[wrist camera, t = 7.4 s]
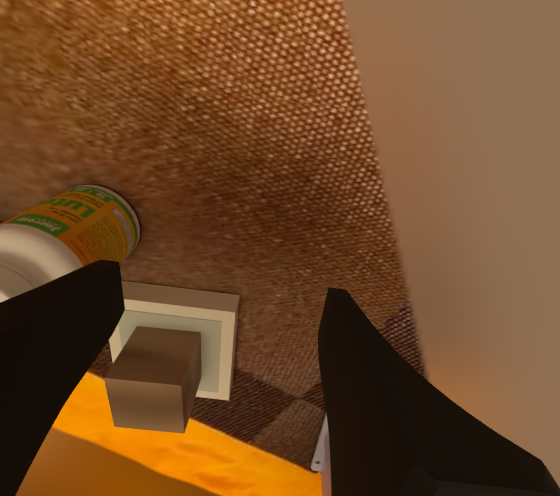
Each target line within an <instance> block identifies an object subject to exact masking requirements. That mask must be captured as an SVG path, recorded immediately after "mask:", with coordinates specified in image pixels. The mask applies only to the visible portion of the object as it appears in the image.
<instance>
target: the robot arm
mask: <svg viewBox="0 0 560 496" xmlns="http://www.w3.org/2000/svg"><path fill="white" fill-rule="evenodd" d="M124 311H125V305H124V297H123V288H122V280H121V272H120V264H119V262H117V261H109V260H98V261H96V262H93V263H91V264H88V265H86V266H84V267H81V268H79V269H77V270H74V271H72V272H70V273H68V274H66V275H63V276H61V277H59V278H57V279H55V280H52V281H50V282H48V283H46V284H43V285H41V286H39V287H37V288H34V289H32V290H29V291H27V292H24V293H22V294H20V295H17V296H15V297H12V298H10V299H7V300H5V301H3V302H0V496H15V495H16V493H17V491H18V489H19V487H20V485H21V483H22V481H23V479H24V477H25V475H26V473H27V471H28V469H29V467H30V465H31V464H32V462H33V460H34V458H35V456H36V454H37V452H38V450H39V448H40V447H41V445H42V443H43V441H44V439H45V437H46V435H47V434H48V432H49V430H50V428H51V427H52V425H53V423H54V421H55V420H56V418H57V416H58V414H59V413H60V411H61V409H62V407H63V406H64V404H65V402H66V401H67V399H68V398H69V396H70V395H71V393H72V392H73V390H74V389H75V387H76V386H77V385H78V383H79V382H80V380H81V379H82V377H83V376H84V375H85V373H86V372H87V370H88V369H89V368H90V366H91V365H92V363H93V362H94V360H95V359H96V358H97V356H98V355H99V353H100V352H101V351H102V349H103V348H104V346H105V345H106V343H107V342H108V340H109V339H110V337H111V336H112V334H113V332H114V331H115V329H116V327H117V325H118V323H119V321H120V319H121V317H122V315H123V313H124ZM318 353H319V366H320V373H321V380H322V387H323V394H324V401H325V407H326V413H325V417H324V420H323V424H322V427H321V431H320V434H319V438H318V441H317V445H316V448H315V452H314V455H313V459H312V462H311V469H312V470H314V471H321V480H322V495H323V496H560V488H559V486H558V485H557V483H556V482H555V480H554V479H553V477H552V475H551V474H550V472H549V471H548V469H547V468H546V466H545V465H544V463H543V462H542V461H541V460H540V459H538V458H536V457H535V456H533V455H532V454H530V453H529V452H527V451H525V450H523V449H522V448H521V447H519V446H517V445H516V444H514V443H513V442H511V441H509V440H508V439H506V438H505V437H503V436H501V435H500V434H498V433H497V432H495V431H494V430H492V429H490V428H489V427H487V426H486V425H485V424H483V423H482V422H481V421H479V420H478V419H476V418H475V417H473V416H472V415H470V414H469V413H468V412H466V411H465V410H464V409H462V408H461V407H460V406H458V405H457V404H456V403H454V402H453V401H452V400H450V399H449V398H448V397H447V396H445V395H444V394H443V393H442V392H440V391H439V390H438V389H437V388H435V387H434V386H433V385H432V384H431V383H429V382H428V381H427V380H426V379H425V378H424V377H422V376H421V375H420V374H419V373H418V372H417V371H416V370H415V369H414V368H413V367H412V366H411V365H410V364H408V363H407V362H406V361H405V360H404V359H403V358H402V357H401V356H400V355H399V354H398V353H397V352H396V351H395V349H394V348H393V347H392V346H391V345H390V344H389V343H388V342H387V341H386V340H385V339H384V337H383V336H382V335H381V334H380V333H379V332H378V330H377V329H376V328H375V327H374V326H373V324H372V323H371V322H370V321H369V319H368V318H367V317H366V316H365V314H364V313H363V312H362V310H361V309H360V308H359V306H358V305H357V304H356V302H355V301H354V300H353V298H352V297H351V296H350V294H349V293H348V292H347V290H344V289H336V288H328V292H327V297H326V301H325V305H324V310H323V314H322V318H321V323H320V327H319V331H318Z"/></svg>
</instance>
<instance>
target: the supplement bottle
mask: <svg viewBox="0 0 560 496" xmlns="http://www.w3.org/2000/svg"><path fill="white" fill-rule="evenodd" d="M139 237H140V227H139V222H138V219H137V217H136V214H135V213H134V211H133V209H132V208H131V207H130V205H129V204H128V203H127V202H126V201H125V200H124V199H123V198H122V197H121V196H119V195H118V194H116V193H115V192H113V191H111V190H109V189H107V188H104V187H101V186H96V185H80V186H76V187H73V188H71V189H68V190H66V191H64V192H62V193H60V194H58V195H56V196H54V197H52V198H50V199H48V200H46V201H44V202H42V203H40V204H38V205H36V206H34V207H32V208H30V209H28V210H26V211H24V212H22V213H20V214H18V215H16V216H14V217H12V218H10V219H8V220H6V221H4V222H2V223H0V302H3V301H5V300H7V299H10V298H12V297H15V296H17V295H20V294H22V293H24V292H27V291H29V290H32V289H34V288H37V287H39V286H41V285H43V284H46V283H48V282H50V281H52V280H55V279H57V278H59V277H61V276H63V275H66V274H68V273H70V272H72V271H74V270H77V269H79V268H81V267H84V266H86V265H88V264H91V263H93V262H96V261H98V260H109V261H117V262H119V264H121V263H122V262H123V261H124V260H125V259H126V258H127V257H128V256H129V255H130V254H131V253H132V251H133V250H134V249H135V247H136V246H137V244H138V241H139Z"/></svg>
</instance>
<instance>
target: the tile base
mask: <svg viewBox="0 0 560 496" xmlns="http://www.w3.org/2000/svg"><path fill="white" fill-rule="evenodd" d="M122 288H123V297H124V305H125V311H124V313H123V315H122V317H121V319H120V321H119V323H118V325H117V327H116V329H115V331H114V332H113V334H112V336H111V337H110V339H109V342H110V348H111V354H112V360H113V363H114V361H115V360H116V358H117V357H118V355H119V353H120V352H121V350H122V349H123V347H124V345H125V344H126V342H127V341H128V339H129V337H130V336H131V334H132V333H133V331H134V330H135V328H136V326H143V327H153V328H163V329H173V330H183V331H192V332H201V370H202V377H201V381H200V384H199V387H198V390H197V394H196V397H204V398H213V399H222V400H229V397H230V392H231V387H232V382H233V373H234V361H235V348H236V335H237V322H238V310H239V297H240V295H235V294H226V293H218V292H210V291H202V290H194V289H186V288H177V287H169V286H161V285H153V284H145V283H137V282H128V281H122Z"/></svg>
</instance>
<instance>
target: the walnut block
mask: <svg viewBox="0 0 560 496" xmlns="http://www.w3.org/2000/svg"><path fill="white" fill-rule="evenodd" d="M201 377H202V370H201V332H192V331H183V330H173V329H163V328H153V327H143V326H136V328H135V330H134V331H133V333H132V334H131V336H130V337H129V339H128V341H127V342H126V344H125V345H124V347H123V349H122V350H121V352H120V353H119V355H118V357H117V358H116V360H115V361H114V363H113V364H112V366H111V368H110V369H109V371H108V372H107V374H106V376H105V377H104V380H105V385H106V390H107V394H108V399H109V403H110V408H111V412H112V417H113V422H114V426H115V427H124V428H134V429H144V430H154V431H164V432H175V433H185V429H186V426H187V423H188V420H189V416H190V413H191V410H192V407H193V403H194V400H195V397H196V394H197V390H198V387H199V384H200V381H201Z"/></svg>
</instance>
